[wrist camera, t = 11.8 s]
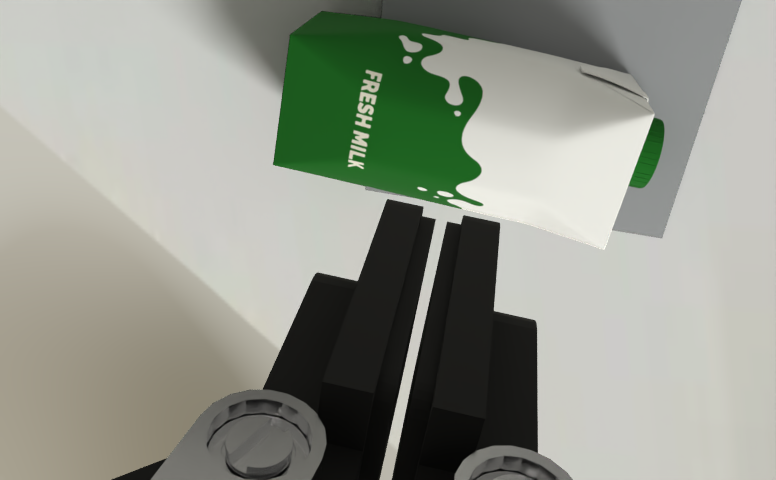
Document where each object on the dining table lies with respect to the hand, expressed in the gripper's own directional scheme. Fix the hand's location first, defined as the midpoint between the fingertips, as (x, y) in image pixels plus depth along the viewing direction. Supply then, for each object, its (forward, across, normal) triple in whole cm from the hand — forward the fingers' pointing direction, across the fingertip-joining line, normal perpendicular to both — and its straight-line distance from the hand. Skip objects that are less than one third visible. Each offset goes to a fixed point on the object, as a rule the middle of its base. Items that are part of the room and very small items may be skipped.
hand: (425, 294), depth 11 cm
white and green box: (+29, +9, +9) cm, 31 cm away
